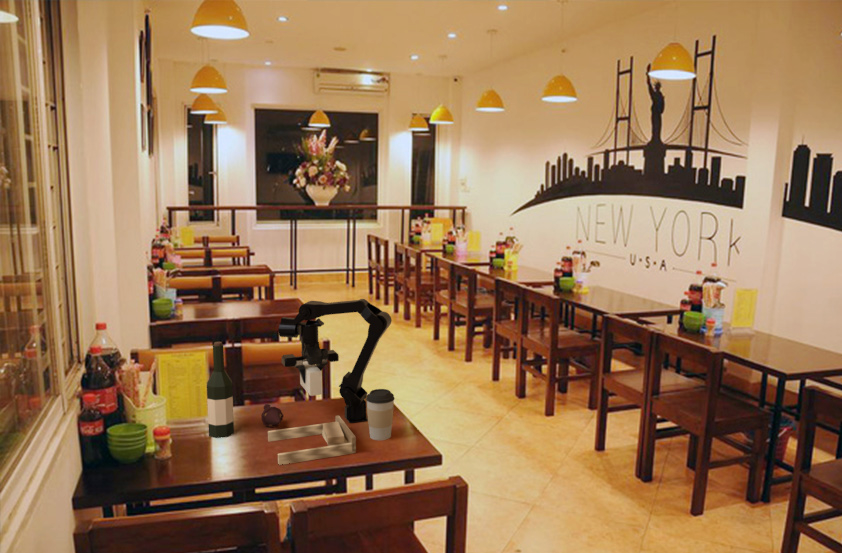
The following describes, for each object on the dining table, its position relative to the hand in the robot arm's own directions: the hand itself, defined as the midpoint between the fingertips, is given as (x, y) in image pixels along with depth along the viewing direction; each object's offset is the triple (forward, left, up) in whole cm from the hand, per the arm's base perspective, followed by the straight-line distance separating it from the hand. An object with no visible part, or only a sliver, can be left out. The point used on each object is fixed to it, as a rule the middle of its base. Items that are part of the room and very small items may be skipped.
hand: (310, 382), depth 221 cm
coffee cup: (-17, +26, -12) cm, 33 cm away
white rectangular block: (0, 0, -2) cm, 2 cm away
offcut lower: (-2, +26, -13) cm, 29 cm away
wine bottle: (+30, +5, -12) cm, 33 cm away
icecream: (+14, +5, -12) cm, 19 cm away
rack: (+6, +26, -12) cm, 29 cm away
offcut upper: (-1, +26, -10) cm, 28 cm away
